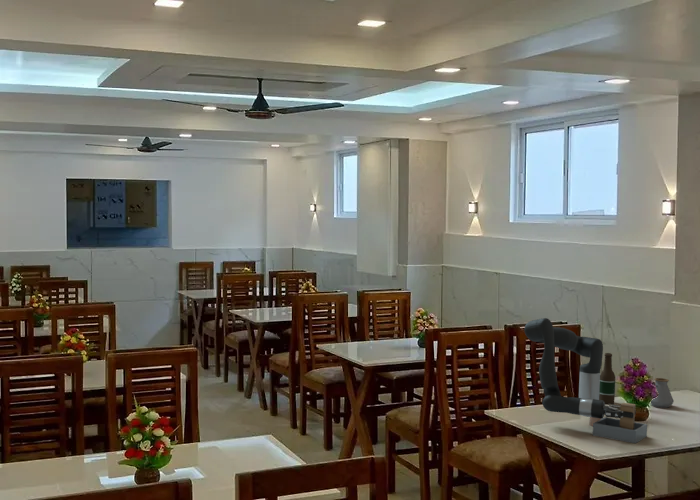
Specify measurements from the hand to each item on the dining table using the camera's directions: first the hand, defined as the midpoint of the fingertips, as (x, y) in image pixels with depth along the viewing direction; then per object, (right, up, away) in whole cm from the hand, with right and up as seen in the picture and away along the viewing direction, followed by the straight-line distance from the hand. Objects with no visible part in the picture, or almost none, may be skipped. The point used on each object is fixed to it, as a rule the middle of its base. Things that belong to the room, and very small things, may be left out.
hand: (634, 413), depth 334 cm
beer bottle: (+9, -7, +64) cm, 65 cm away
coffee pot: (+29, -8, +57) cm, 65 cm away
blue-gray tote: (-5, -10, +4) cm, 11 cm away
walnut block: (-3, -6, +2) cm, 7 cm away
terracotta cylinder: (-10, -9, +20) cm, 24 cm away
